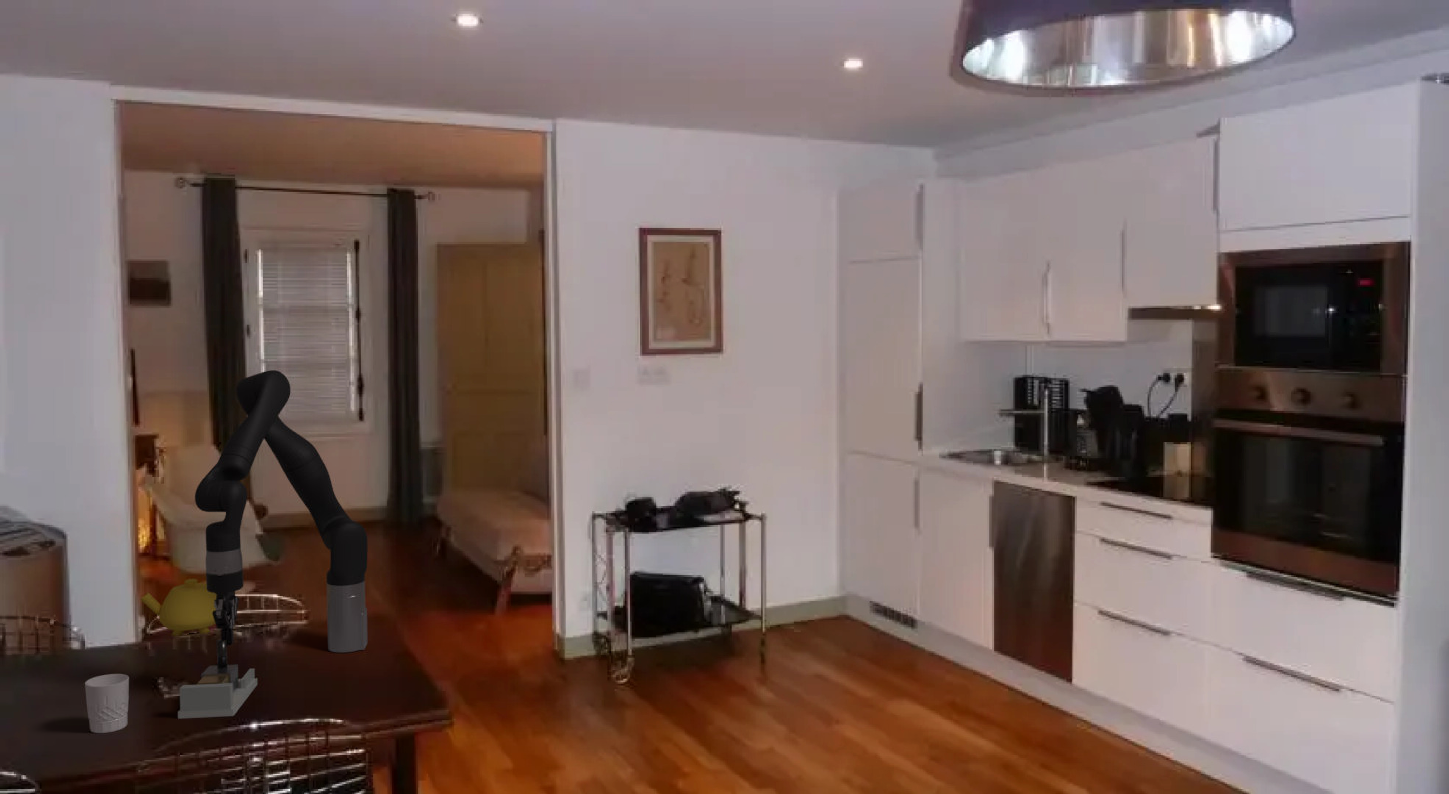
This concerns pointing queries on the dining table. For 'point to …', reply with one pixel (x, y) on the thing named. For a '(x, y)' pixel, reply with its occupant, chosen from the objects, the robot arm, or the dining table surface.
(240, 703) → the press
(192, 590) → the teapot
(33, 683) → the dining table surface
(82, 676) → the dining table surface
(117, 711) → the white cup
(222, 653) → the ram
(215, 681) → the tan cube
